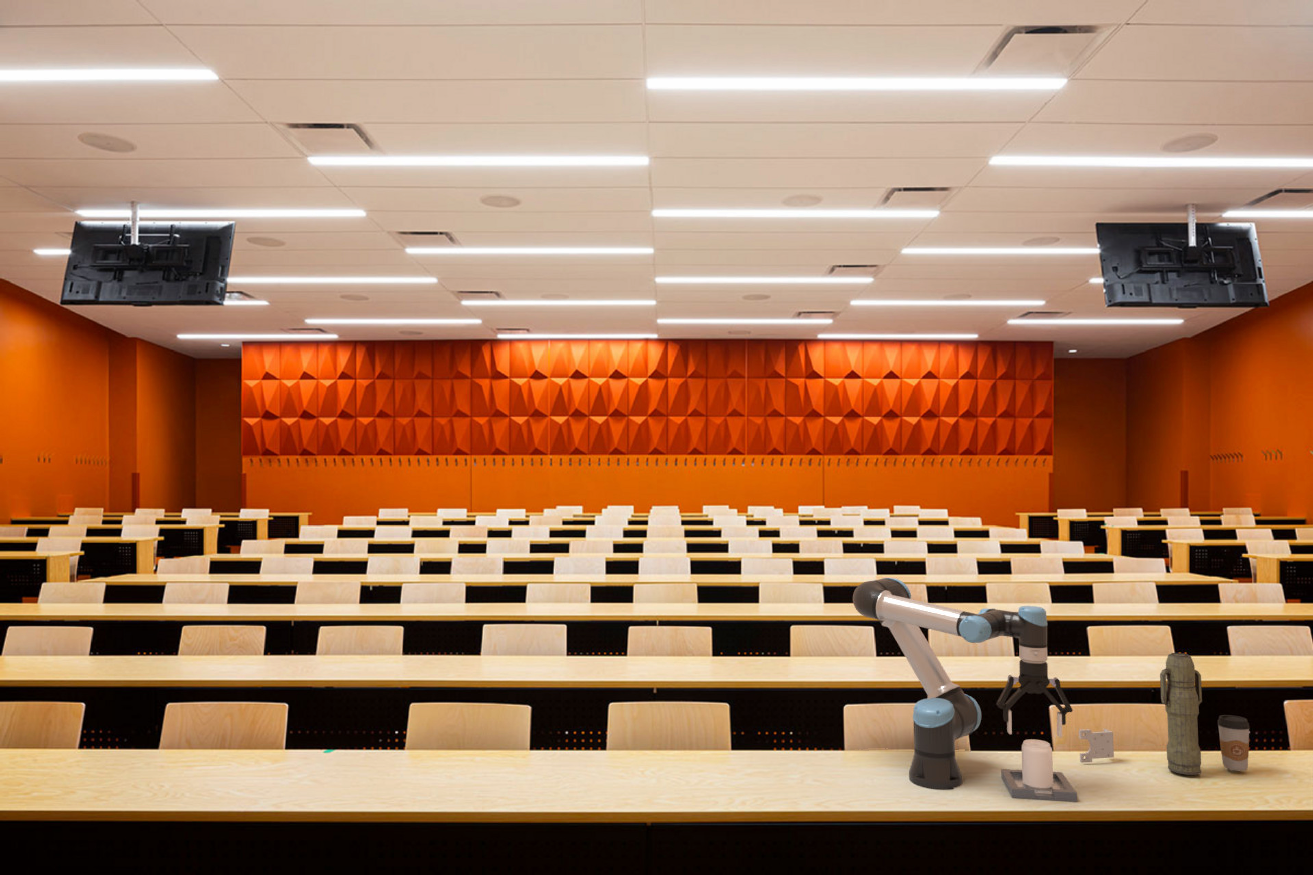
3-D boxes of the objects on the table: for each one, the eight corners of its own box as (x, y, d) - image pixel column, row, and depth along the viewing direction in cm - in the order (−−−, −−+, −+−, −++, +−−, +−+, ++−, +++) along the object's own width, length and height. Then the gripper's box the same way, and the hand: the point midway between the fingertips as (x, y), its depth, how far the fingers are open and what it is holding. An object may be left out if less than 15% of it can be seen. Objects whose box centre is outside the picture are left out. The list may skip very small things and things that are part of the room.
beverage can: (1053, 782, 251) (1052, 740, 252) (1053, 791, 244) (1051, 748, 244) (1023, 778, 254) (1021, 737, 255) (1022, 787, 247) (1020, 745, 248)
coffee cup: (1222, 770, 263) (1220, 720, 263) (1216, 761, 270) (1214, 713, 271) (1254, 773, 260) (1252, 723, 260) (1247, 764, 267) (1245, 715, 268)
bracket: (1105, 756, 277) (1103, 724, 278) (1114, 760, 273) (1112, 728, 274) (1073, 758, 276) (1071, 726, 276) (1081, 762, 272) (1080, 730, 272)
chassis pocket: (1012, 797, 243) (1011, 788, 243) (1001, 777, 259) (1000, 768, 259) (1077, 801, 239) (1076, 792, 239) (1062, 780, 256) (1061, 772, 256)
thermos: (1213, 773, 260) (1208, 656, 262) (1177, 775, 258) (1172, 658, 260) (1191, 764, 269) (1186, 650, 270) (1156, 766, 267) (1152, 652, 269)
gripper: (990, 661, 250) (991, 735, 249) (1083, 665, 245) (1084, 741, 244) (985, 655, 257) (986, 727, 256) (1076, 659, 252) (1077, 733, 251)
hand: (1034, 734), depth 250 cm, fingers open, 13 cm apart
